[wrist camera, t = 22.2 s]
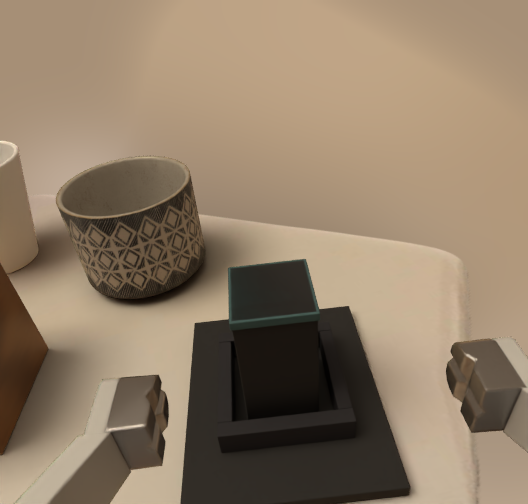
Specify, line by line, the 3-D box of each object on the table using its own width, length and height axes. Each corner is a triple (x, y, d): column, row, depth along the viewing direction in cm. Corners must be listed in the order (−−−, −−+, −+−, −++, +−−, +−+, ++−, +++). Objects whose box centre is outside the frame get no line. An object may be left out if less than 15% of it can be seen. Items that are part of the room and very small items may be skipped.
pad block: (320, 415, 30) (320, 313, 24) (247, 424, 30) (228, 323, 24) (308, 357, 34) (305, 258, 28) (244, 365, 34) (228, 267, 28)
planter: (129, 326, 40) (94, 234, 34) (71, 272, 48) (34, 189, 42) (230, 262, 47) (216, 176, 41) (165, 223, 55) (145, 146, 49)
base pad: (408, 495, 26) (414, 471, 25) (182, 522, 26) (172, 499, 24) (348, 313, 39) (349, 288, 38) (196, 330, 39) (190, 306, 37)
